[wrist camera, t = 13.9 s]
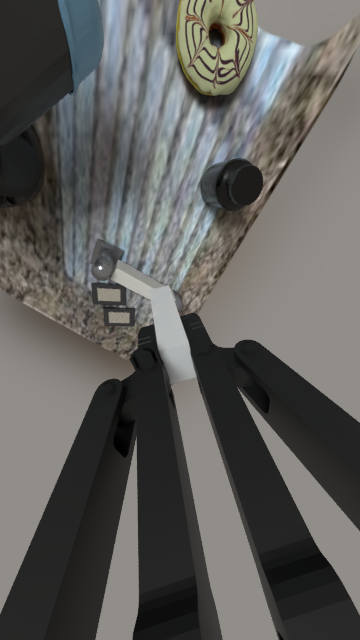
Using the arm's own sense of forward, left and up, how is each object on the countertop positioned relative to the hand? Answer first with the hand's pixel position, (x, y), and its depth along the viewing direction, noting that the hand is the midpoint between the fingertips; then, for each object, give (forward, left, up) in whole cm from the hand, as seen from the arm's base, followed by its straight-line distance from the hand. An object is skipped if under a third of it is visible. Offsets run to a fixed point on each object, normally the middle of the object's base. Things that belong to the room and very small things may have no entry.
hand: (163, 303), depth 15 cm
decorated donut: (-1, +26, -30) cm, 40 cm away
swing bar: (+5, -9, -27) cm, 29 cm away
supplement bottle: (+9, +13, -30) cm, 34 cm away
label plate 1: (-2, -16, -29) cm, 34 cm away
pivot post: (-5, -8, -29) cm, 31 cm away
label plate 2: (+2, -21, -29) cm, 36 cm away
